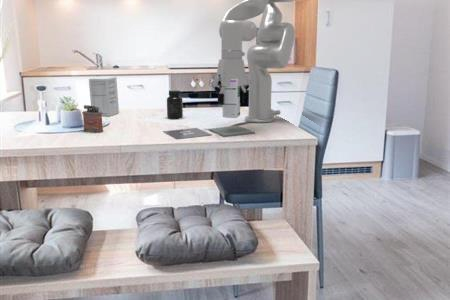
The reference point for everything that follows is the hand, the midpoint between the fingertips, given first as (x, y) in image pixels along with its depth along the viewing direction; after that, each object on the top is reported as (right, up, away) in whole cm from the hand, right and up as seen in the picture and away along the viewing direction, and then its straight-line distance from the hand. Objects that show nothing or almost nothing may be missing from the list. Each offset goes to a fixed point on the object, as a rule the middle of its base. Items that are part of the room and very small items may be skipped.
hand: (231, 103), depth 169 cm
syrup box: (0, -5, +1) cm, 5 cm away
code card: (-16, -11, 0) cm, 20 cm away
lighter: (-52, -11, +3) cm, 53 cm away
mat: (0, -10, +3) cm, 11 cm away
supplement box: (-57, -1, +39) cm, 69 cm away
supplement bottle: (-24, -3, +31) cm, 39 cm away
